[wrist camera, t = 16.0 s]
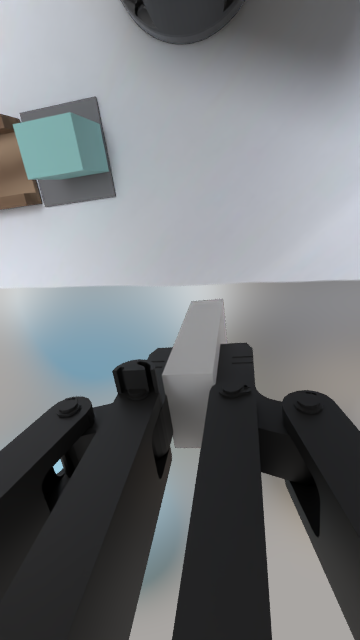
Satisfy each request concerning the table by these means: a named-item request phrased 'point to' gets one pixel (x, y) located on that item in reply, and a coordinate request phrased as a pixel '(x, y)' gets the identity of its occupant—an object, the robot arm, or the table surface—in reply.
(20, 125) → the block
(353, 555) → the robot arm
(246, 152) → the table surface
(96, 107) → the mat
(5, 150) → the chute
